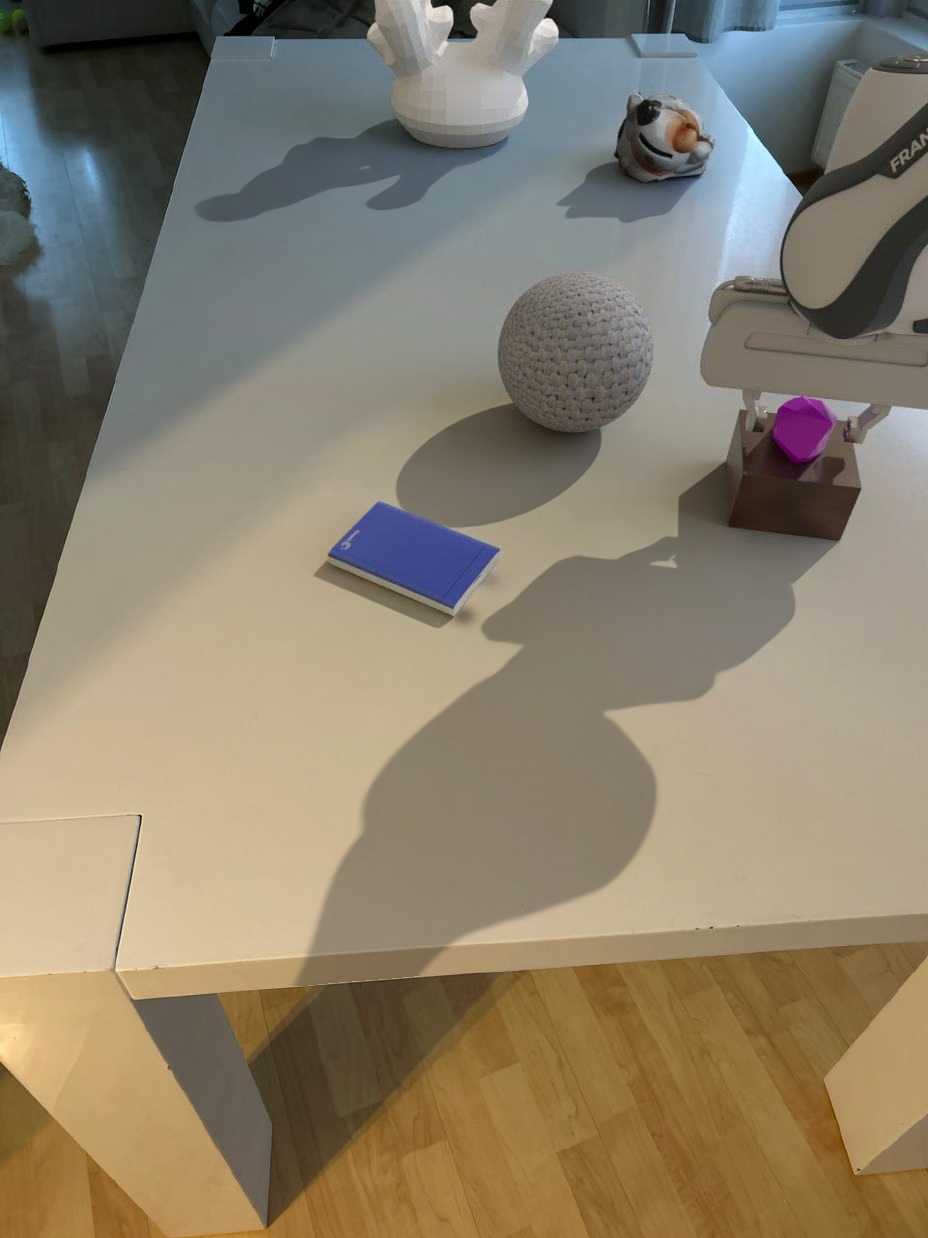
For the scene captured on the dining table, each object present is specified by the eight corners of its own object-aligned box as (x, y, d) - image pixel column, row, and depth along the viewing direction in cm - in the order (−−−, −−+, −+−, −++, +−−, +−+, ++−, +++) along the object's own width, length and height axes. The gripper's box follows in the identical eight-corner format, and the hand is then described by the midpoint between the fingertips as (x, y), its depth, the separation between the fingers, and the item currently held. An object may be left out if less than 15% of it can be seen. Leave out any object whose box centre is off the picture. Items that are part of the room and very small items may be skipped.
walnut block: (830, 472, 92) (849, 421, 88) (840, 540, 85) (862, 488, 81) (725, 460, 93) (739, 408, 89) (727, 526, 86) (743, 474, 82)
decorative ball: (537, 478, 90) (551, 337, 79) (470, 397, 100) (473, 260, 89) (669, 440, 95) (699, 301, 84) (593, 366, 104) (610, 232, 93)
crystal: (830, 440, 85) (846, 396, 82) (816, 473, 82) (832, 428, 79) (773, 424, 87) (787, 380, 84) (758, 455, 84) (771, 411, 80)
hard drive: (327, 551, 81) (453, 605, 77) (379, 498, 85) (500, 546, 82) (328, 565, 82) (453, 618, 78) (380, 511, 87) (499, 559, 83)
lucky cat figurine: (721, 166, 142) (748, 94, 129) (675, 221, 140) (698, 153, 127) (640, 114, 145) (658, 38, 131) (593, 167, 142) (607, 95, 129)
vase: (371, 159, 142) (357, -136, 116) (370, 106, 157) (357, -166, 132) (561, 157, 144) (588, -134, 118) (542, 105, 159) (562, -163, 134)
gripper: (717, 292, 72) (683, 441, 83) (995, 320, 70) (926, 469, 80) (716, 255, 77) (684, 400, 87) (978, 280, 75) (914, 426, 85)
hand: (802, 433), depth 84 cm, fingers open, 7 cm apart
